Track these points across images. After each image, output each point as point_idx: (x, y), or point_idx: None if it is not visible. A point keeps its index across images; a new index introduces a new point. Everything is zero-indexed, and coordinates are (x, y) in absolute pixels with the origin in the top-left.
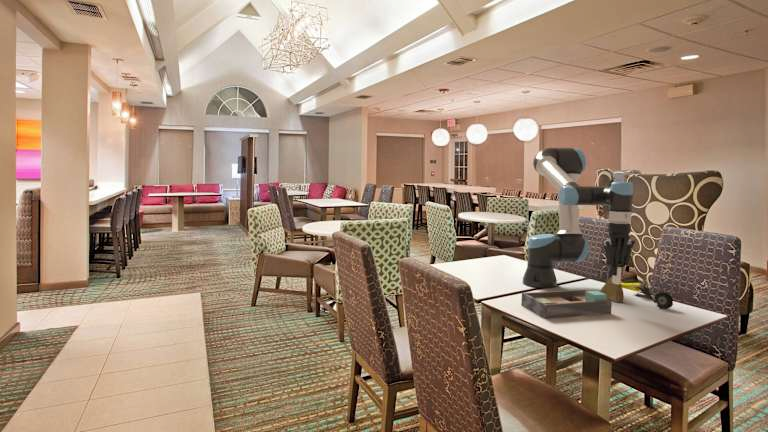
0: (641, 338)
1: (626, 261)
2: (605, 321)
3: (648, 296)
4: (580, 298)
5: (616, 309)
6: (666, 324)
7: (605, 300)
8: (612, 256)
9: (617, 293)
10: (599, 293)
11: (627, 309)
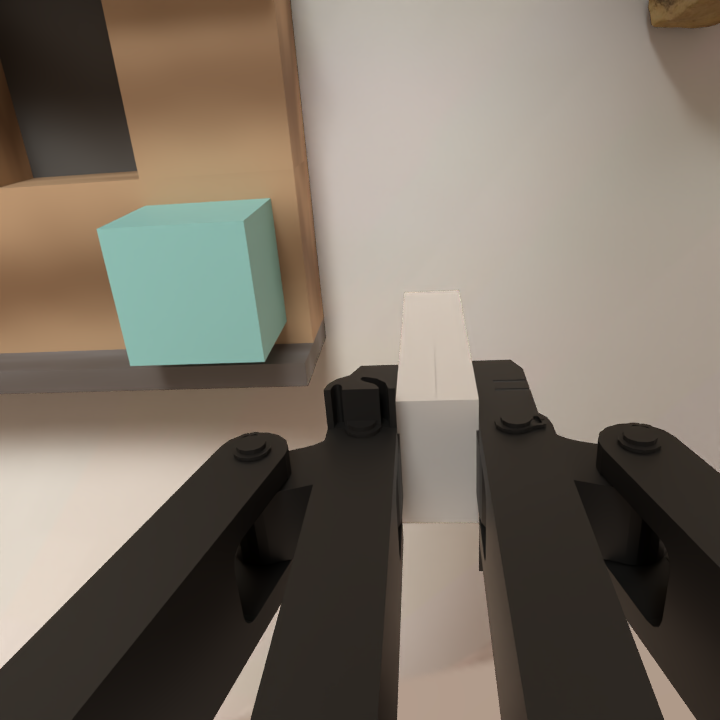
0: (237, 682)
1: (633, 604)
2: (188, 464)
3: None
4: (143, 91)
5: (455, 237)
6: None
7: (254, 365)
8: (201, 715)
9: None
10: (209, 324)
11: (558, 250)
